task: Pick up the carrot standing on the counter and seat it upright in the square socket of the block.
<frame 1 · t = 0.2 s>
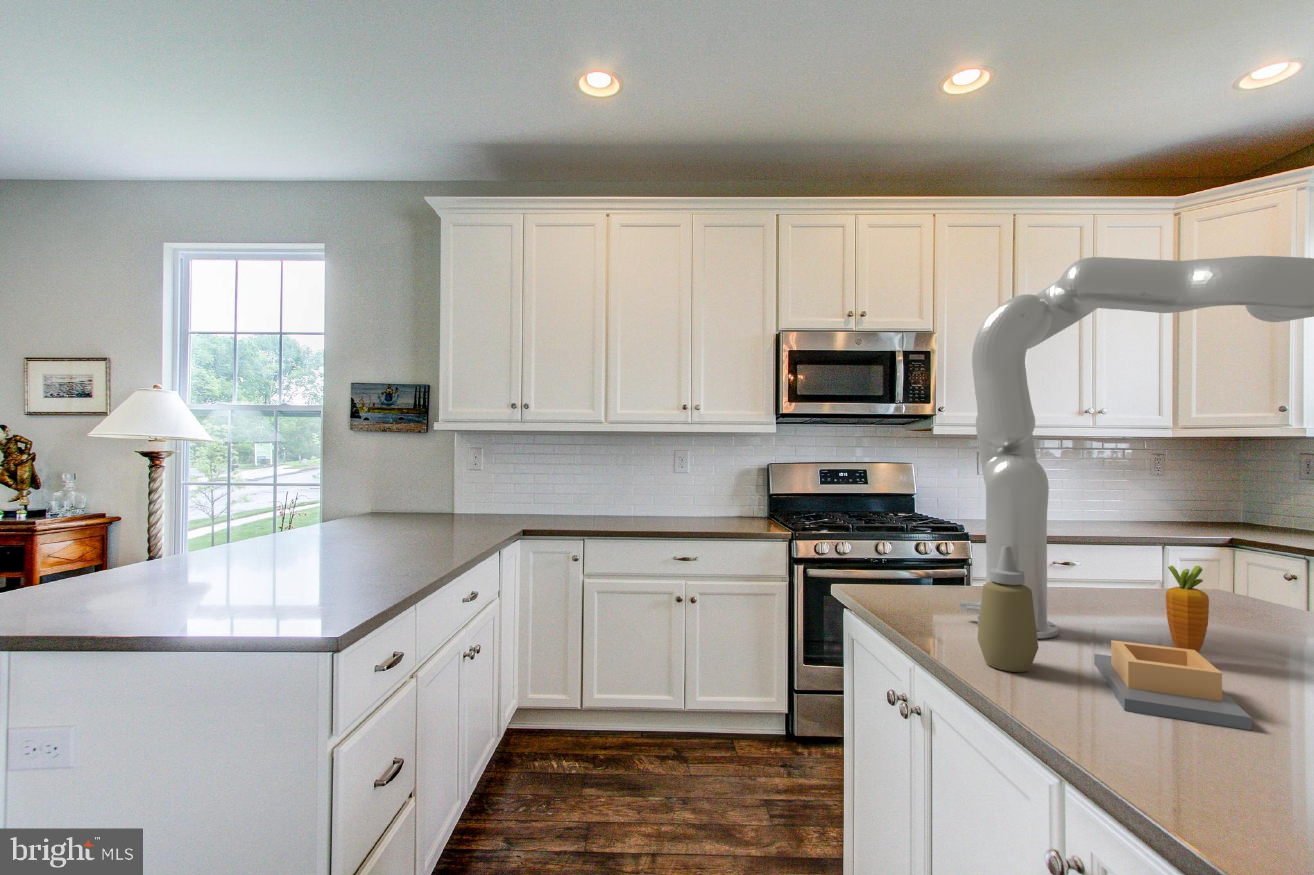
carrot: (1187, 663, 92), on the counter
squeeze bottle: (1007, 667, 91), on the counter
socket block: (1162, 692, 81), on the counter
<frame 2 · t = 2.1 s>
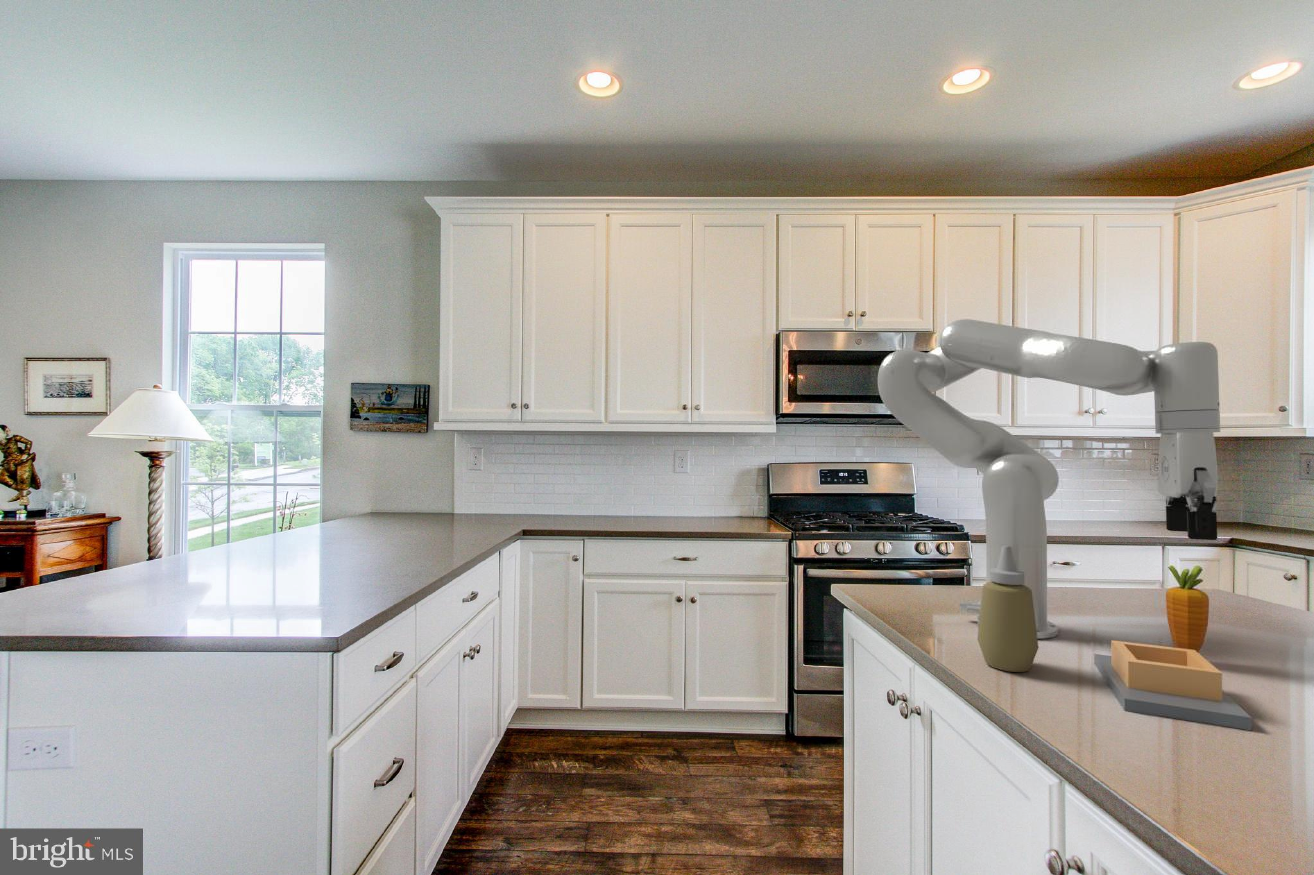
hand: (1190, 534, 92), 20 cm above the counter, tool pointing down, fingers open, 9 cm apart
nothing on the counter moved.
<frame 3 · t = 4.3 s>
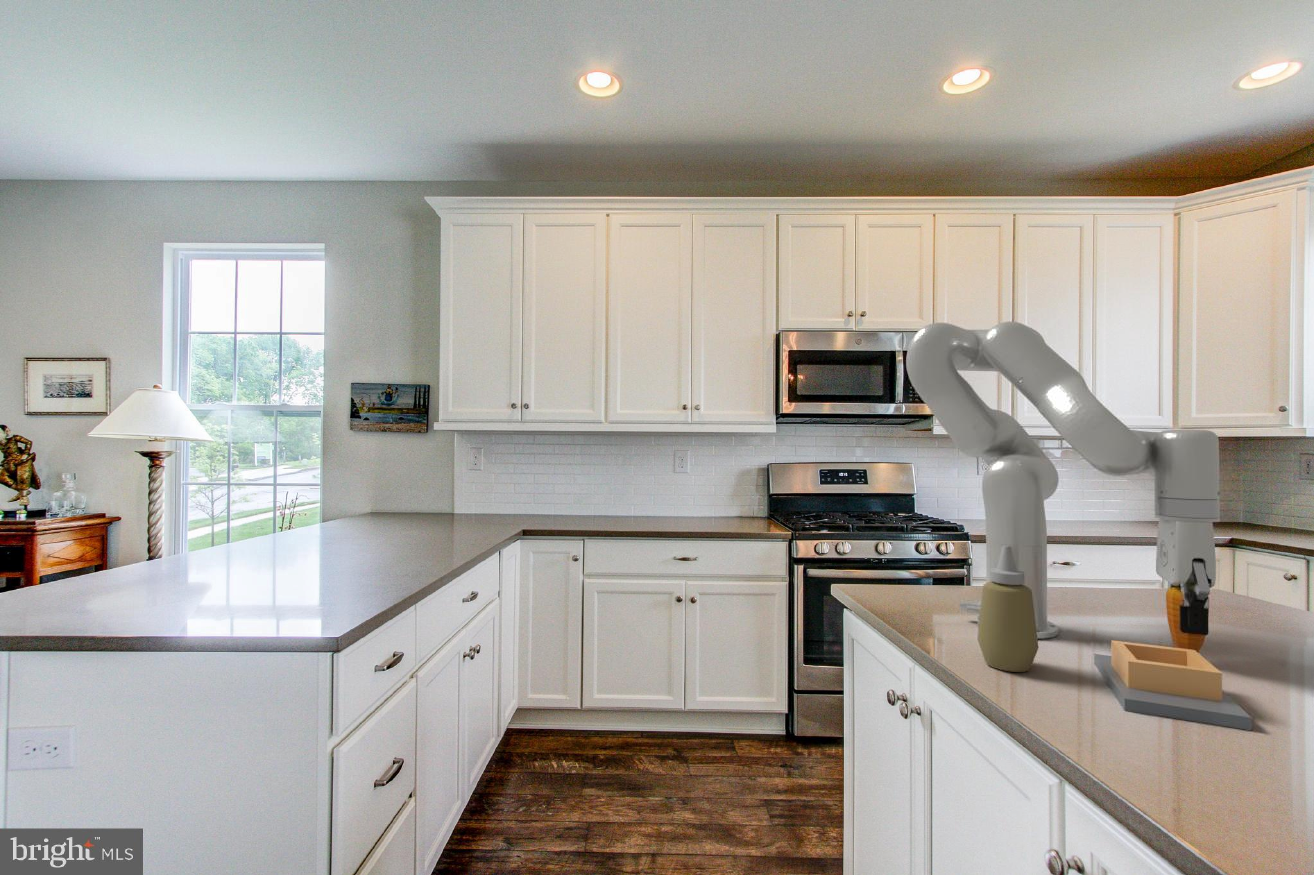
hand: (1187, 627, 93), 5 cm above the counter, tool pointing down, fingers closed on carrot, 4 cm apart
carrot: (1187, 663, 92), on the counter, touching gripper
everything else where it was.
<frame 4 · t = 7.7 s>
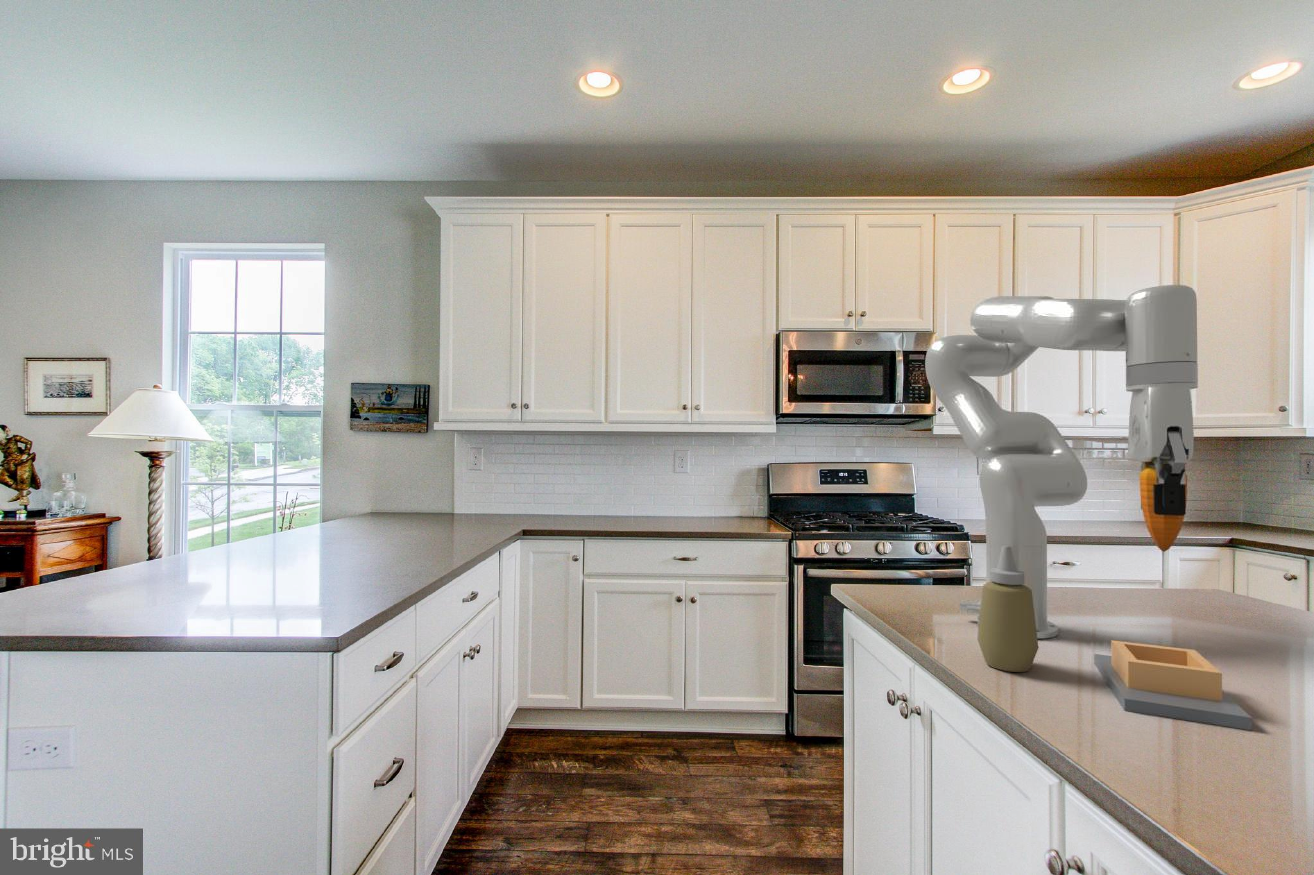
hand: (1162, 511, 82), 24 cm above the counter, tool pointing down, fingers closed on carrot, 4 cm apart
carrot: (1163, 552, 82), point 19 cm above the counter, touching gripper
everything else where it was.
when the fingers open (8 cm above the counter, at t = 10.9 s): carrot stays where it is, resting on socket block.
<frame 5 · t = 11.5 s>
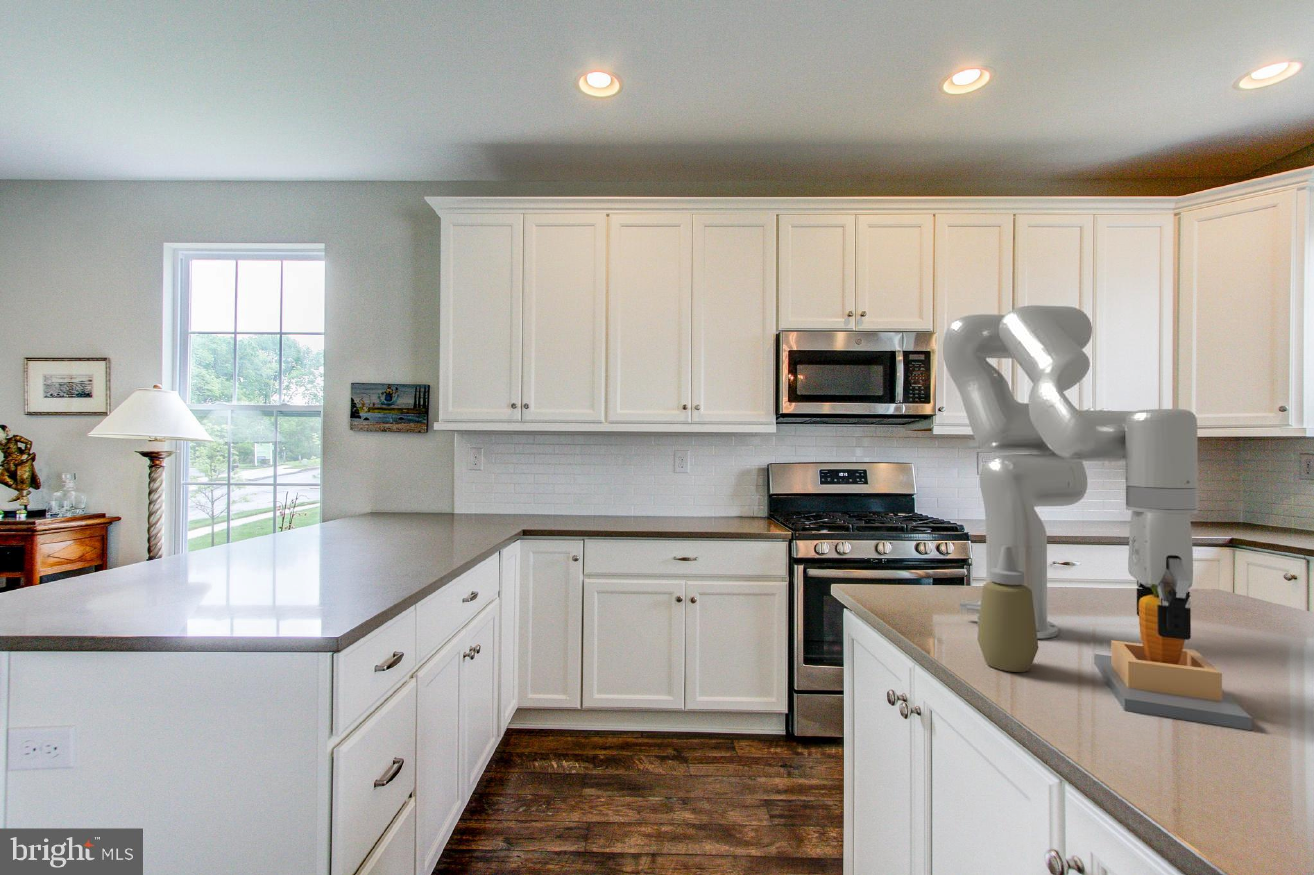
hand: (1162, 627, 81), 9 cm above the counter, tool pointing down, fingers open, 9 cm apart
carrot: (1162, 682, 81), point 1 cm above the counter, touching socket block
everything else where it was.
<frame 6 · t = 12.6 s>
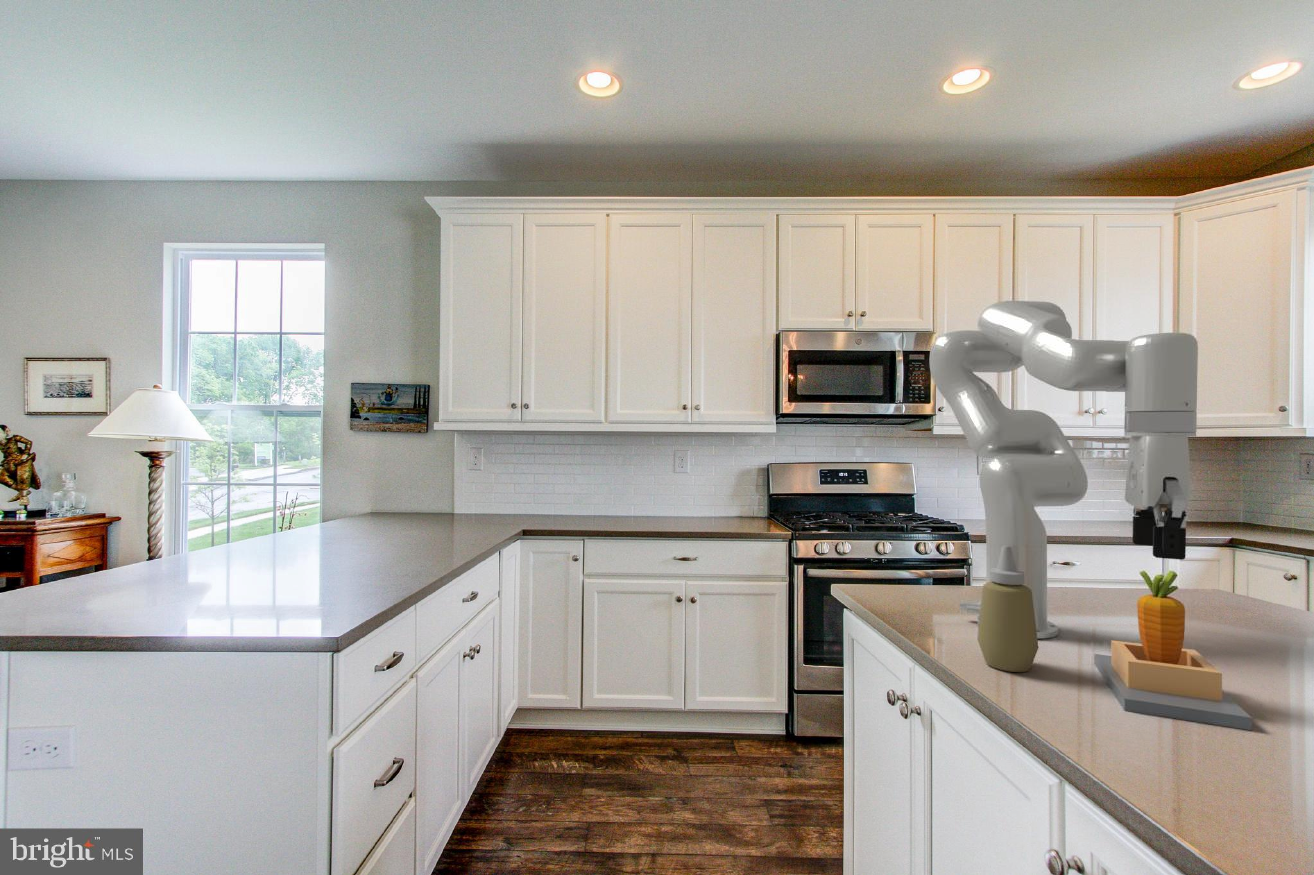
hand: (1157, 551, 82), 19 cm above the counter, tool pointing down, fingers open, 9 cm apart
nothing on the counter moved.
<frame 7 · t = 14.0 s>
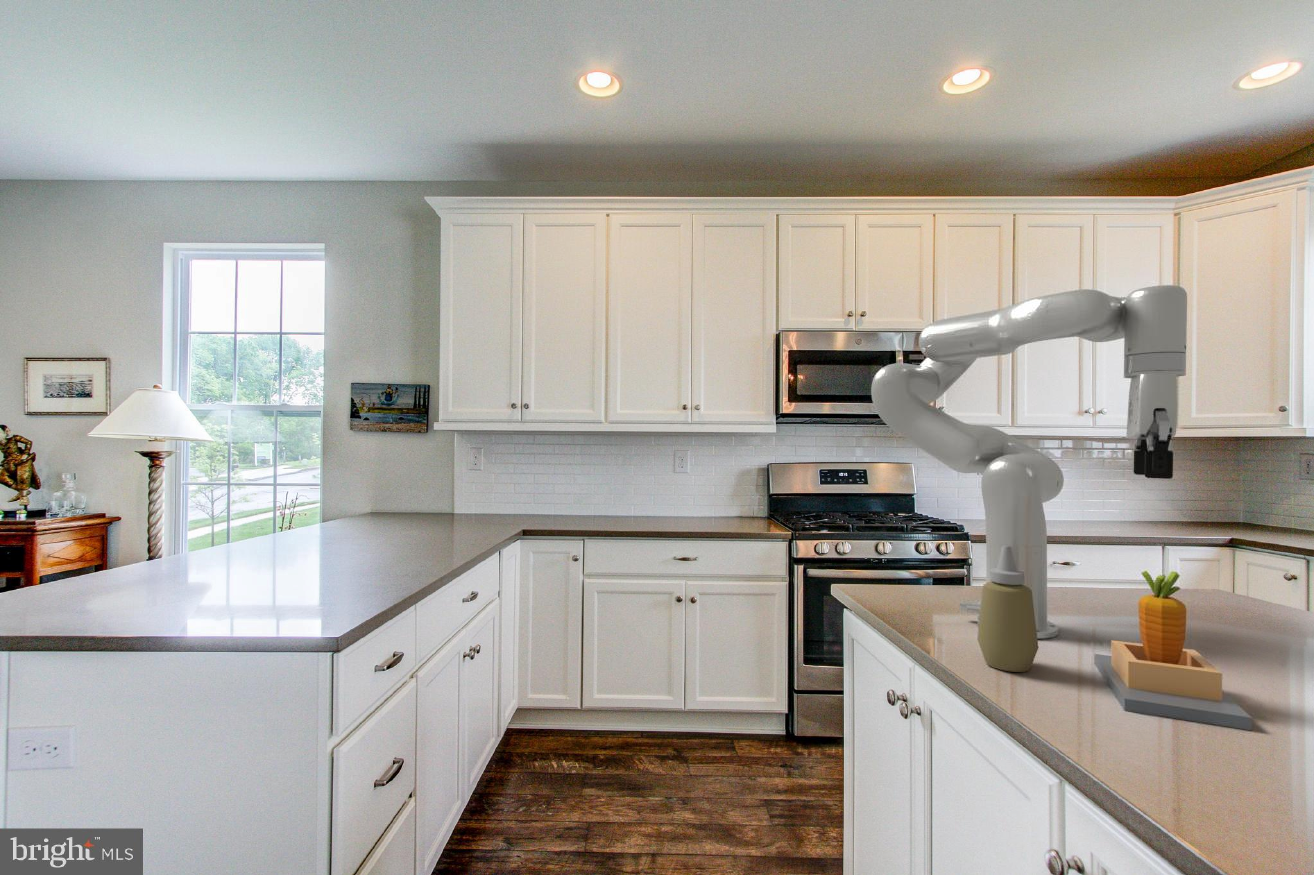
hand: (1152, 476, 94), 28 cm above the counter, tool pointing down, fingers open, 9 cm apart
nothing on the counter moved.
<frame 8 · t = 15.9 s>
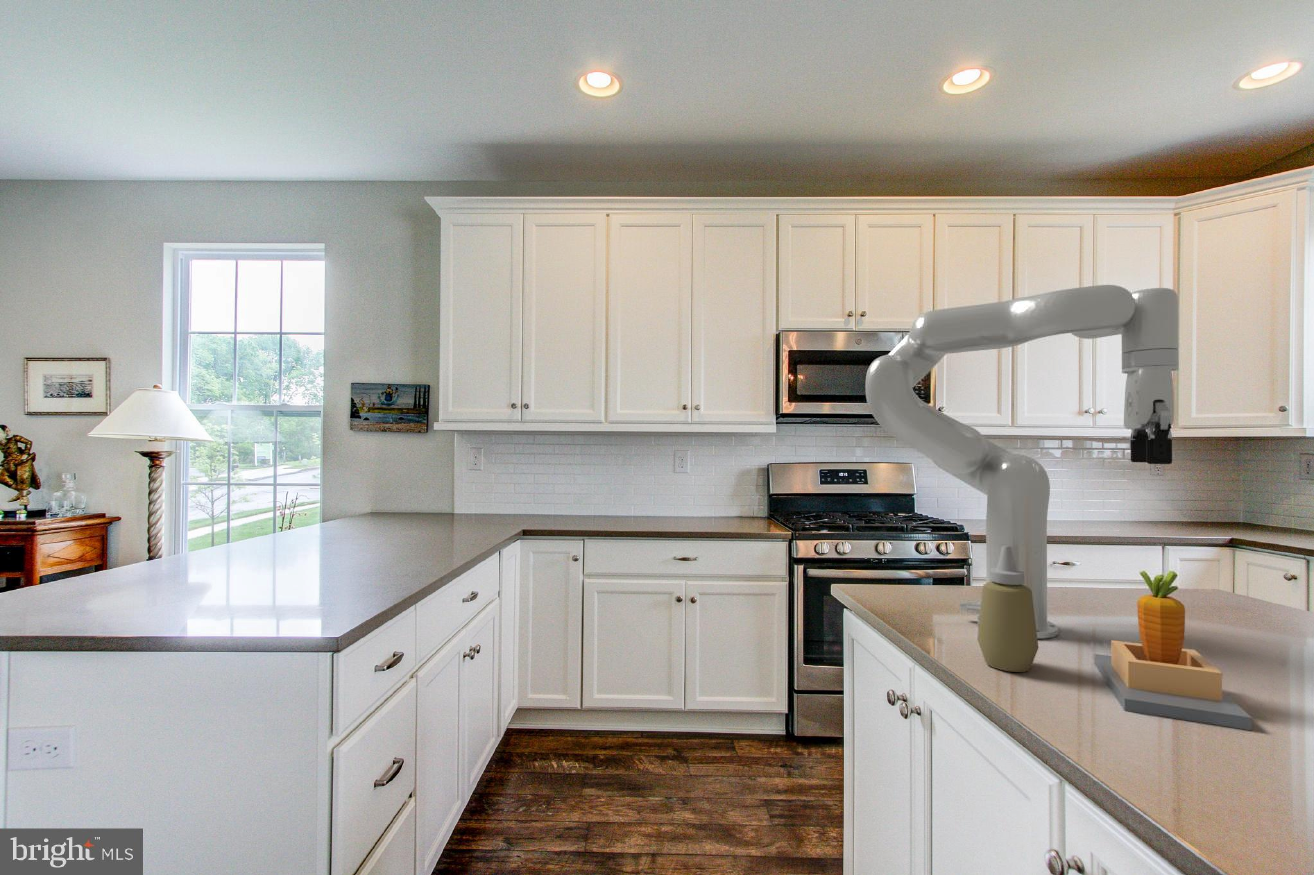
hand: (1150, 463, 103), 30 cm above the counter, tool pointing down, fingers open, 9 cm apart
nothing on the counter moved.
at the end: carrot 0.2 cm off-centre on the socket block, point 1.3 cm above the socket block's base; carrot tilted 0°; the gripper is holding nothing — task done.
